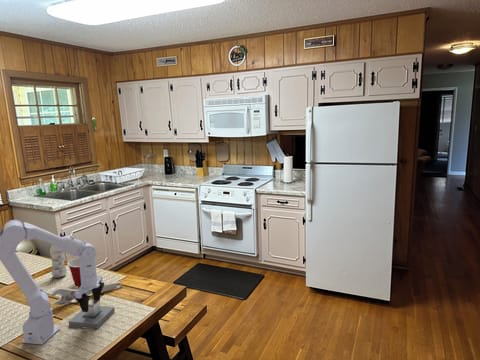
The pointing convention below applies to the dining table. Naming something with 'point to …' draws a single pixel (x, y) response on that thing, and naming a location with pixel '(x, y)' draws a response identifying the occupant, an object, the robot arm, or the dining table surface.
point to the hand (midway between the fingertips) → (91, 306)
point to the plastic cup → (75, 271)
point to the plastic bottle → (57, 262)
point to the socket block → (95, 322)
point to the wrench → (70, 293)
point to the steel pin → (93, 309)
